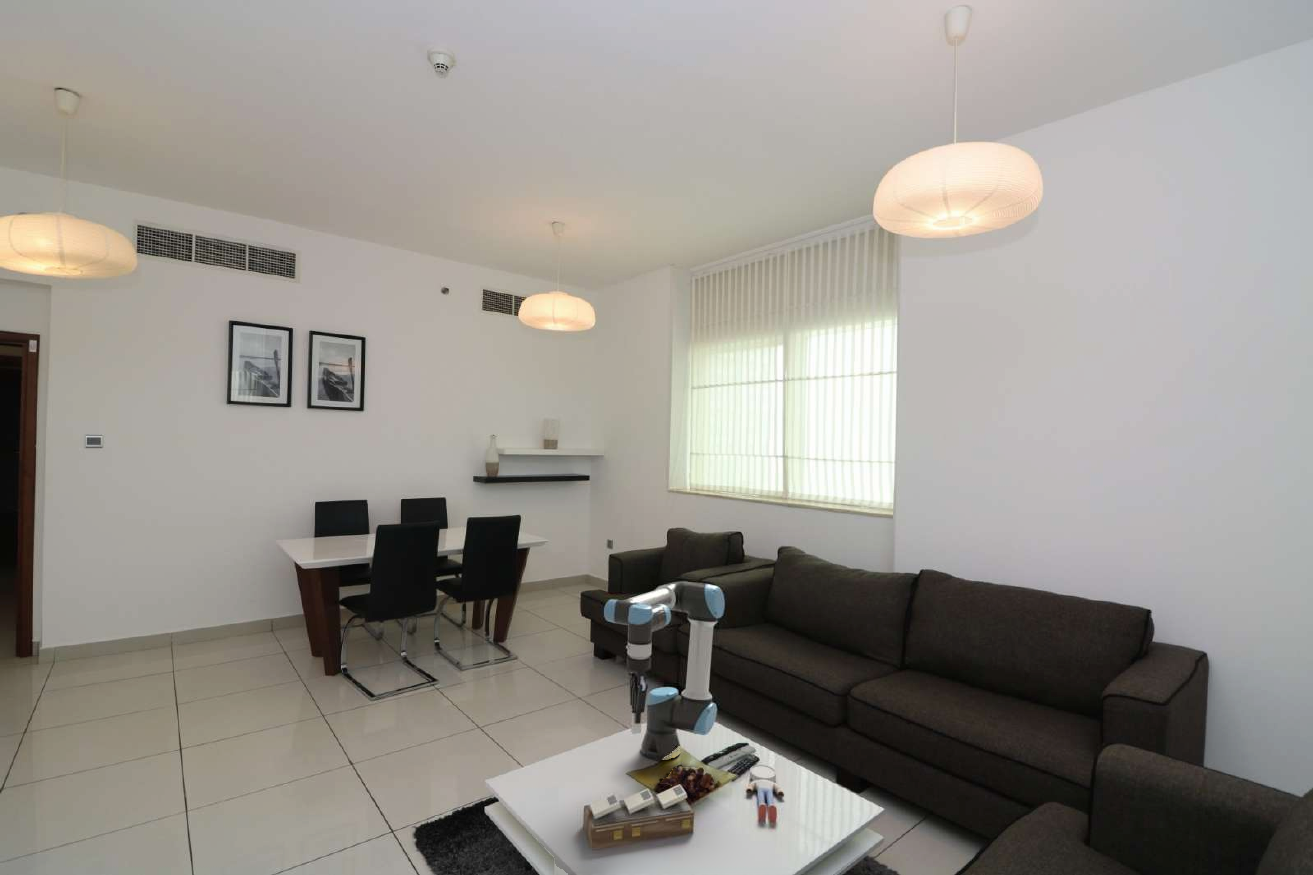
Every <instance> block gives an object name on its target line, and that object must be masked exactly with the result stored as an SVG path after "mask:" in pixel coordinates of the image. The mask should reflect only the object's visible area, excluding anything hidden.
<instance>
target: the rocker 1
mask: <svg viewBox="0 0 1313 875" xmlns="http://www.w3.org/2000/svg"><path fill="white" fill-rule="evenodd" d="M619 801H620V800H619V798H618V796H617V795H616V792H615V793H612V794H610V795H607V796H605V797H603V798H601V799H599V800H597V801H594V802H592V803H590V804H589V805H590V808H591V811H592V813H593V816H594V818H595V819H597V818H599V817H601V816H603V815H605V814H608V813H610V812H612V811H614V810H616V809H618V808H620V807H621V806H620V803H619Z"/></svg>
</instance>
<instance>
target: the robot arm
mask: <svg viewBox="0 0 1313 875" xmlns="http://www.w3.org/2000/svg"><path fill="white" fill-rule="evenodd" d="M725 602H726V601H725V595H724V593H723V591H722V589H721V588H720V587H719V586H718V585H713V584H709V583H700V582H690V581H686V580H685V581H684V580H683V581H681V580H680V581H675V582H674V581H673V582H669V583H666V584H663V585H662V584H661V585H659V586H658V587H656V588H655V589H654V590H652V591H649V592H646V593H642V594H639V595H635V596H633V597H629V598H626V599H622V600H619V599H609V600H607V601H606V603H605V606H604V608H603V615H604V616H603V617H604V618H605V620H606V621H607V622H610V623H613V624H619V625H624V626H625V625H626V626H627V645H626V646H625V649H627V656H626V668H627V669H628V670H629V671H630V672H628V679H629V680H628V681H629V706H631V731H630V732H631V734H632V735H633V734H634V735H635V734H641V733H642V718H643V716H642V714H643V713H645V708H646V730H645V733H644V736H643V737H642V738H643V739H642V742H641V744H640V746H641V747H640V752H641V754H642V755H643V756H644V755H645V756H644V757H645V758H647V757H648V759H650V760H653V761H661V760H662V759H663V758H664V757H665V756H667V755H669V754H670V753H672V751H674V750H675V749H676V748H677V747H678V746H681V742H680V739H679V735H678V731H677V730H679V731H684V732H687V733H691V734H693V735H699V736H700V735H701V736H705V735H707V734H709V733H710V732H711V731H712V729H713V727H714V725H715V722H716V718H717V713H718V708H717V704H716V703H714V702H713V695H712V694H711V692H710V691H709V689H710V679H711V678H710V677H711V675H710V674H711V663H712V649H713V635H714V626H715V625H716V624H717V623H718V622H719V619H720V618H722V616H724V611H725V607H726V606H725V605H726V604H725ZM671 611H675V612H676V611H677V612H681V613H687V620H688V622H689V623H690V630H689V631H690V632H689V643H688V644H689V645H688V655H687V667H686V668H687V670H686V680H685V682H686V683H685V689H683V690H682V691H681V694H679V690H678V689H677V687H670V686H665V687H664V686H663V687H658V688H657V687H656V688H654V689H652V690H651V691H650V692H649V693H647V692H648V688H649V686H648V684H647V683H646V682H647V676H646V672H647V671H649V670H650V669H651V668H652V666H651V665H652V664H651V663H652V662H651V661H652V657H651V655H652V643H653V642H652V639H653V638H652V636H653V633H654V632H656V631H658V630H660V629H664V628H665V627H666V626H667V625H669V623H670V622H671V619H672V614H671ZM646 700H647V702H646Z"/></svg>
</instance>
